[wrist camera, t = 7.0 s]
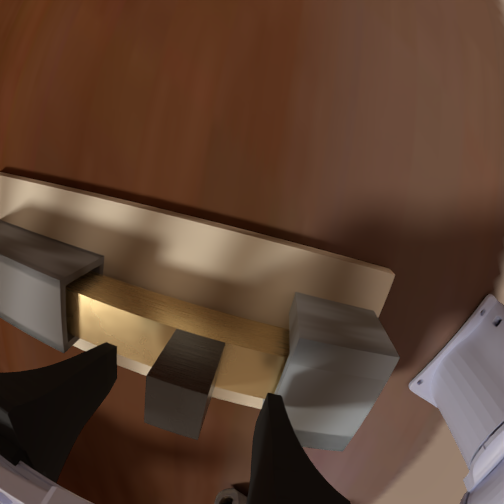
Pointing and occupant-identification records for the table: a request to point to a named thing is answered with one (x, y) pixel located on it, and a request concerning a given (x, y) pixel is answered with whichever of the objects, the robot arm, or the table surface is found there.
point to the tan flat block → (177, 347)
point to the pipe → (230, 497)
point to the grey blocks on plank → (205, 292)
